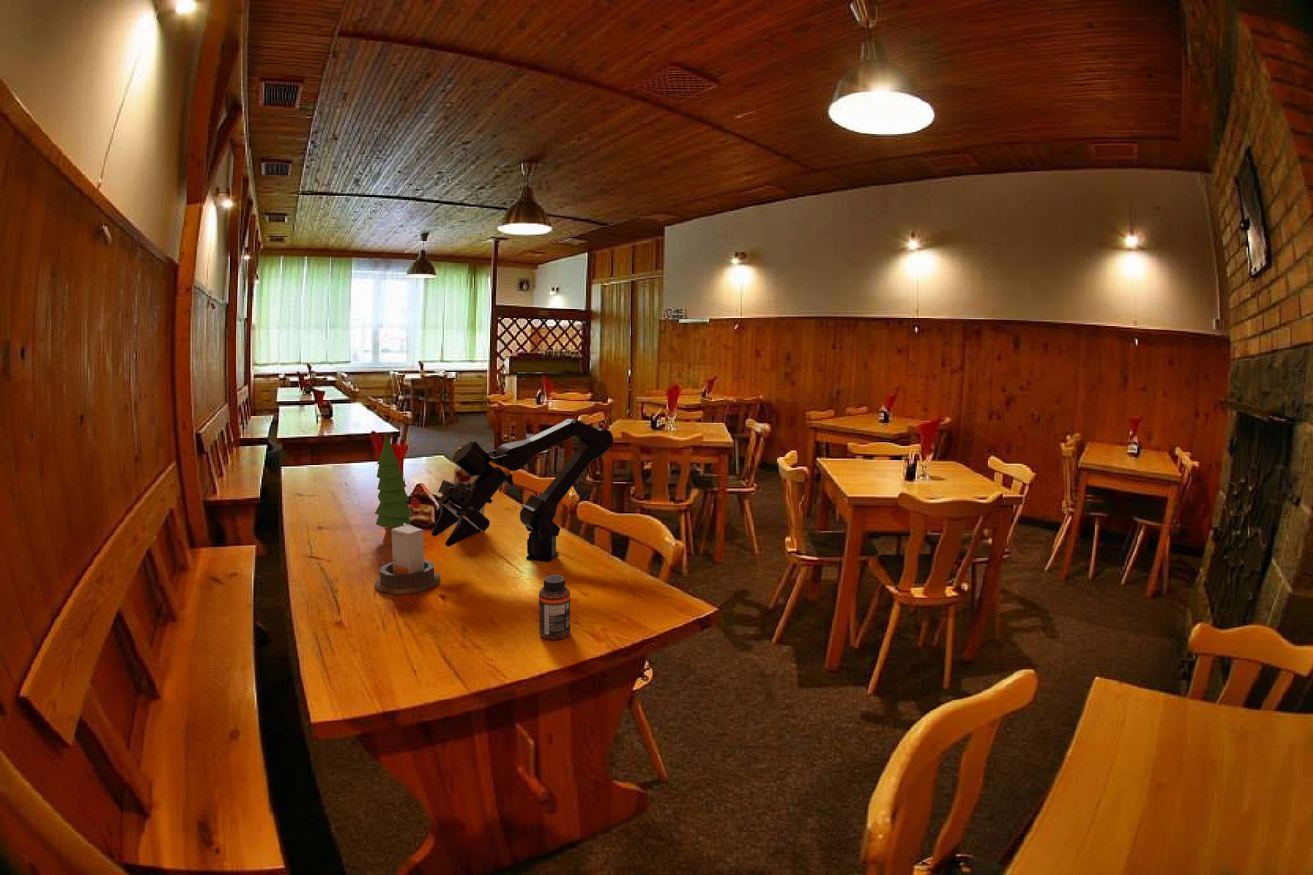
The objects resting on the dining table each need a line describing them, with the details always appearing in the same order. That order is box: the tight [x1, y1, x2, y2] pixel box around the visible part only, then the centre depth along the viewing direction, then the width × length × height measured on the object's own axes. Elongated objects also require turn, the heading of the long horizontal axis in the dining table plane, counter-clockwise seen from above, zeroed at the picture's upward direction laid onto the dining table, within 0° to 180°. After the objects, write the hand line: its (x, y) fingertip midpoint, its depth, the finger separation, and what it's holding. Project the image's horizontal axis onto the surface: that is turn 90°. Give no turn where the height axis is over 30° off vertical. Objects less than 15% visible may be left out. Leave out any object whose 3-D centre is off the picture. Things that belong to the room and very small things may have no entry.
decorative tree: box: [374, 432, 413, 546], centre depth 187 cm, size 10×9×30 cm
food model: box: [453, 465, 486, 532], centre depth 197 cm, size 10×7×20 cm
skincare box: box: [391, 524, 425, 574], centre depth 158 cm, size 6×4×12 cm
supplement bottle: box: [538, 574, 571, 641], centre depth 133 cm, size 6×6×11 cm
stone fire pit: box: [374, 559, 441, 596], centre depth 158 cm, size 14×14×4 cm
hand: (439, 540), depth 162 cm, fingers open, 9 cm apart
